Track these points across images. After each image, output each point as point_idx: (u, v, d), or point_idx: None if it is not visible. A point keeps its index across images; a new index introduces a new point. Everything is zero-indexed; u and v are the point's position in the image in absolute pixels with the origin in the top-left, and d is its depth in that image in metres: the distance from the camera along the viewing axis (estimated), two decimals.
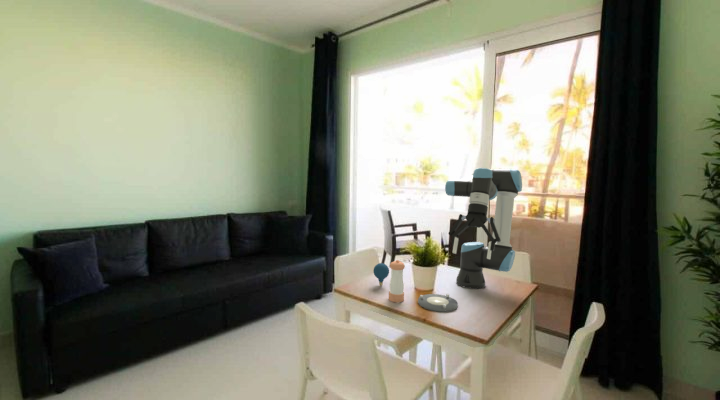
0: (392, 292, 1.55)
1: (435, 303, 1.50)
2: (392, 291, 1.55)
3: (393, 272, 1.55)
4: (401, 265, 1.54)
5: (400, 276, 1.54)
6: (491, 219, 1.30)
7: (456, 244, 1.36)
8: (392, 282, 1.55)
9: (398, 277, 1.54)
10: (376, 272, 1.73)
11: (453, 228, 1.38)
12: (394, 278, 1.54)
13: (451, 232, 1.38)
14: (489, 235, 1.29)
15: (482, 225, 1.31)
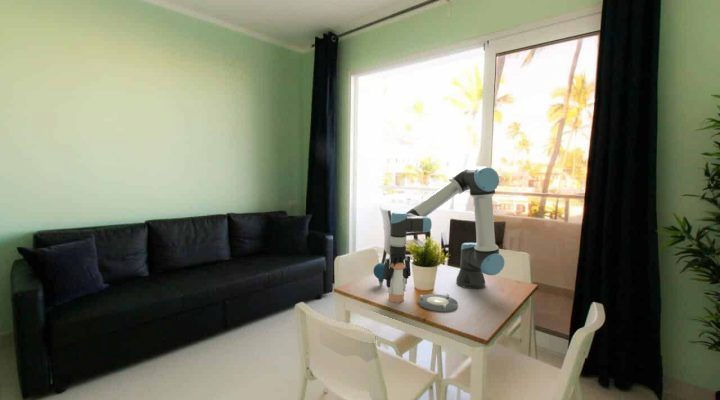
0: (392, 292, 1.55)
1: (435, 303, 1.50)
2: (392, 291, 1.55)
3: (393, 272, 1.55)
4: (401, 265, 1.54)
5: (400, 276, 1.54)
6: None
7: None
8: (392, 282, 1.55)
9: (398, 277, 1.54)
10: (376, 272, 1.73)
11: None
12: (394, 278, 1.54)
13: None
14: None
15: None
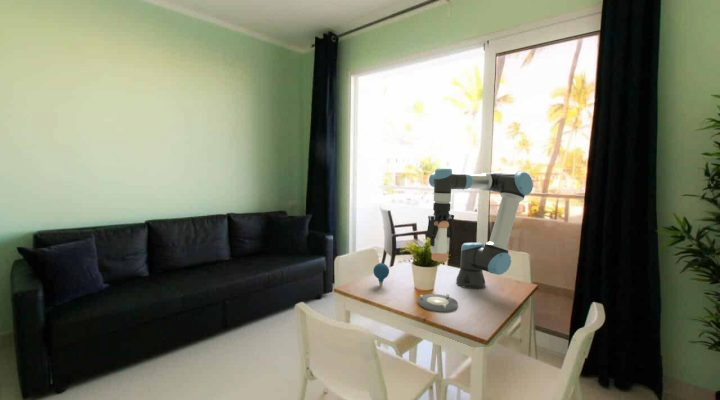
0: (436, 251, 1.49)
1: (435, 303, 1.50)
2: (436, 250, 1.49)
3: None
4: (446, 223, 1.48)
5: (444, 234, 1.49)
6: None
7: None
8: (436, 241, 1.49)
9: (442, 235, 1.48)
10: (376, 272, 1.73)
11: None
12: (438, 236, 1.49)
13: None
14: None
15: None
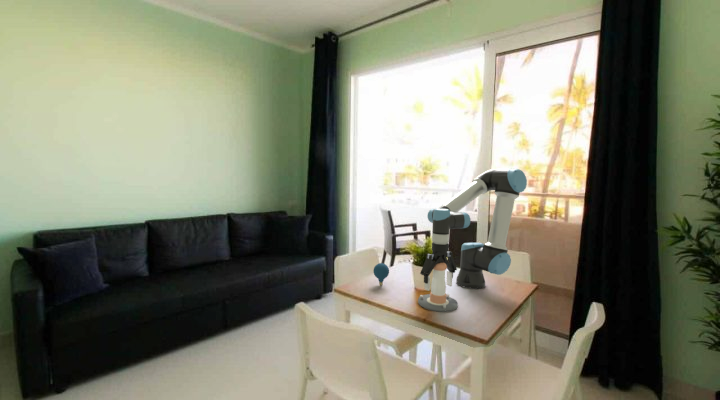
0: (434, 293, 1.51)
1: (435, 303, 1.50)
2: (434, 292, 1.51)
3: (435, 273, 1.51)
4: (444, 265, 1.50)
5: (443, 277, 1.50)
6: None
7: (448, 277, 1.56)
8: (434, 283, 1.51)
9: (441, 278, 1.50)
10: (376, 272, 1.73)
11: None
12: (437, 278, 1.50)
13: (451, 267, 1.58)
14: None
15: None
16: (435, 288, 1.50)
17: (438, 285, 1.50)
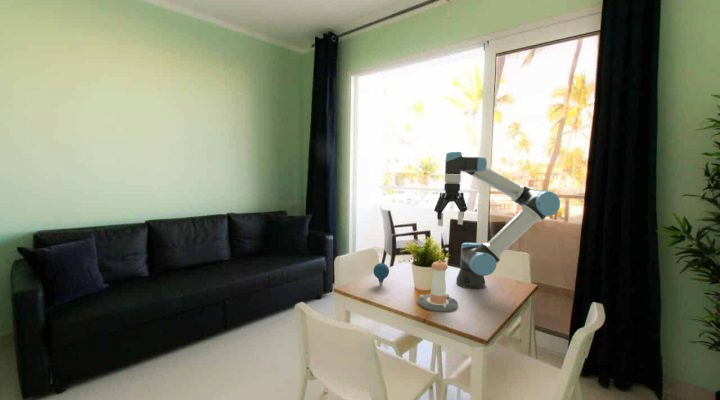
0: (434, 293, 1.51)
1: (435, 303, 1.50)
2: (434, 292, 1.51)
3: (436, 273, 1.51)
4: (444, 265, 1.49)
5: (443, 277, 1.50)
6: None
7: (459, 217, 1.69)
8: (434, 283, 1.51)
9: (441, 278, 1.50)
10: (376, 272, 1.73)
11: None
12: (437, 278, 1.50)
13: None
14: None
15: None
16: (435, 288, 1.50)
17: (438, 285, 1.50)
